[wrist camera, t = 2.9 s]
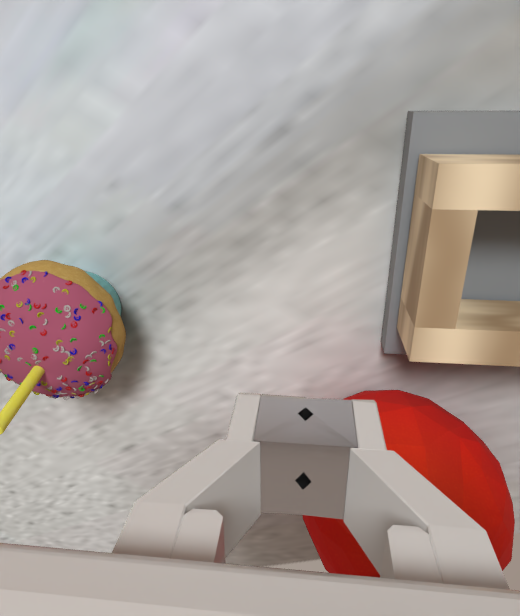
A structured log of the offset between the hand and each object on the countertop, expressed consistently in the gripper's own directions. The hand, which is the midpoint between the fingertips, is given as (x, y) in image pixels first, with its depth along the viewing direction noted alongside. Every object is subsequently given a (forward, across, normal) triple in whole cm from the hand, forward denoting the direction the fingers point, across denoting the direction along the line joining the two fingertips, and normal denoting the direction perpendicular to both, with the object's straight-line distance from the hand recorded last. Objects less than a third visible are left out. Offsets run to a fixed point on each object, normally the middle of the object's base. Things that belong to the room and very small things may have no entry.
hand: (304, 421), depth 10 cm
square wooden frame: (+17, -10, +1) cm, 20 cm away
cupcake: (+19, +15, +6) cm, 25 cm away
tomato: (+19, -6, +15) cm, 25 cm away
